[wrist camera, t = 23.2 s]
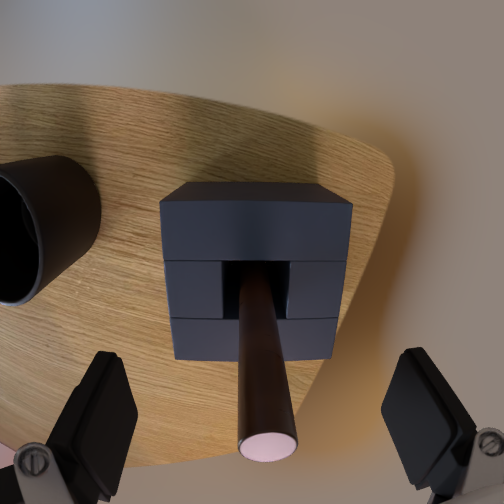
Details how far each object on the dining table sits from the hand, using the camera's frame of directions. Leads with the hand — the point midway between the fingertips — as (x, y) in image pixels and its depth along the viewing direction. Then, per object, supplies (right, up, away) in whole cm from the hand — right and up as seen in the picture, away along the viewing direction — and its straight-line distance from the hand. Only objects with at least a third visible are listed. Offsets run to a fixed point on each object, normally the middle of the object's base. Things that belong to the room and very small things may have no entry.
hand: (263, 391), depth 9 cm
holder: (0, +5, +15) cm, 16 cm away
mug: (-18, +8, +14) cm, 25 cm away
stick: (0, +5, +15) cm, 16 cm away
